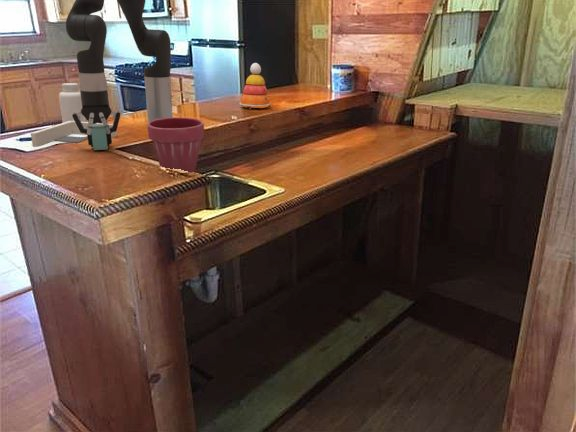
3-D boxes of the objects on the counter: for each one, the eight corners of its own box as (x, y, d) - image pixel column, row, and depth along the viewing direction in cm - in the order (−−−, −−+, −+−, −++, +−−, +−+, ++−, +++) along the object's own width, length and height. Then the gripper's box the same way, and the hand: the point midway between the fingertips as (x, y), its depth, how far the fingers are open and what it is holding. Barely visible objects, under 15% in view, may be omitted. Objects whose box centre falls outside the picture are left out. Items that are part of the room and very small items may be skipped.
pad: (65, 136, 166) (65, 135, 166) (89, 138, 164) (88, 137, 164) (53, 140, 160) (53, 140, 160) (77, 142, 159) (77, 142, 159)
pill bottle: (86, 123, 185) (81, 82, 180) (87, 128, 178) (81, 85, 173) (63, 124, 182) (57, 82, 177) (62, 129, 176) (56, 85, 170)
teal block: (93, 144, 155) (91, 125, 153) (107, 143, 156) (105, 124, 154) (93, 150, 149) (91, 130, 146) (107, 149, 150) (105, 129, 148)
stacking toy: (265, 111, 219) (265, 65, 212) (234, 109, 223) (234, 63, 216) (274, 106, 232) (275, 62, 225) (245, 104, 236) (245, 61, 228)
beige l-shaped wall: (71, 132, 171) (69, 120, 170) (117, 135, 169) (115, 124, 167) (32, 146, 153) (30, 133, 152) (83, 150, 150) (81, 137, 149)
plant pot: (163, 181, 125) (160, 130, 120) (142, 167, 136) (138, 120, 131) (214, 172, 133) (213, 124, 128) (191, 160, 144) (189, 115, 139)
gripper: (118, 86, 151) (124, 141, 158) (68, 87, 147) (75, 144, 153) (119, 89, 145) (125, 147, 151) (66, 90, 140) (74, 150, 147)
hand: (100, 145), depth 152 cm, fingers closed on teal block, 4 cm apart
